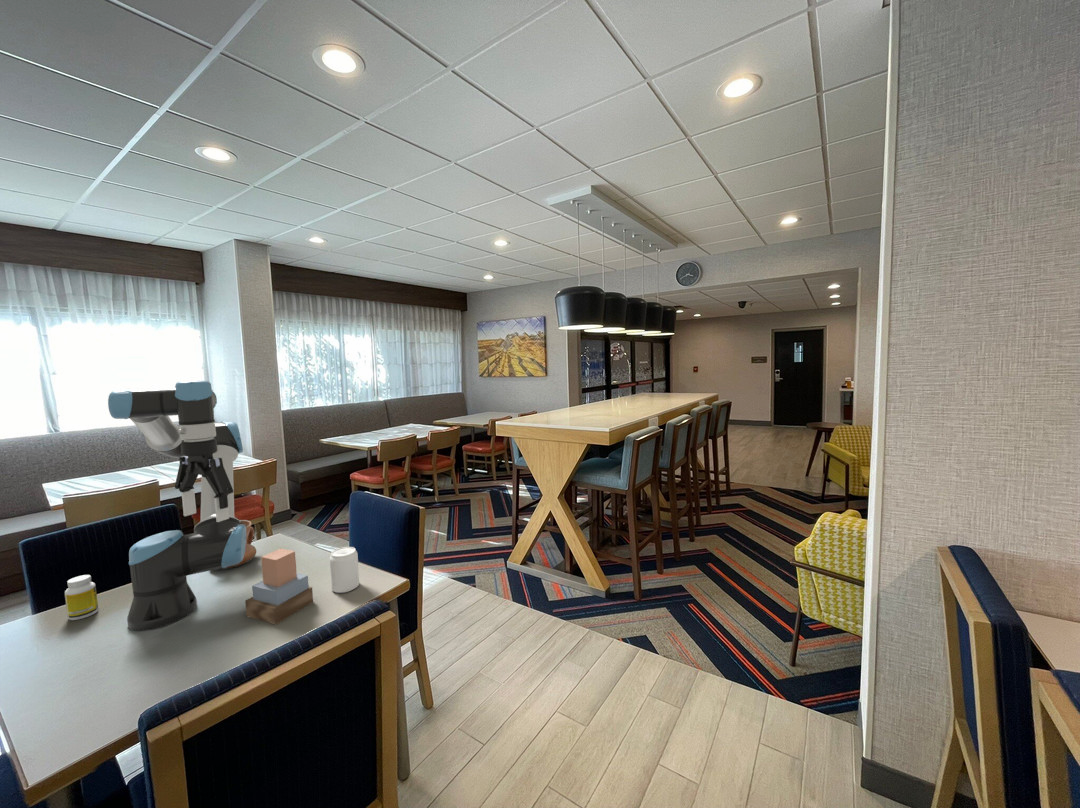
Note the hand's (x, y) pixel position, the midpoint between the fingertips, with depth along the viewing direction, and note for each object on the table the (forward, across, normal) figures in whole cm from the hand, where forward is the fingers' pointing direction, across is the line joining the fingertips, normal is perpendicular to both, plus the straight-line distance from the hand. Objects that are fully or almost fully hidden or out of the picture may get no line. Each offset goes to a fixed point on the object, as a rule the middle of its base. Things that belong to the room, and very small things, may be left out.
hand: (206, 517), depth 117 cm
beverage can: (+31, +18, +28) cm, 45 cm away
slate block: (+26, +10, +12) cm, 30 cm away
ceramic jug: (+31, -35, +28) cm, 54 cm away
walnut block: (+31, +9, +12) cm, 35 cm away
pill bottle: (+31, -43, -10) cm, 54 cm away
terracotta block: (+22, +10, +12) cm, 27 cm away
